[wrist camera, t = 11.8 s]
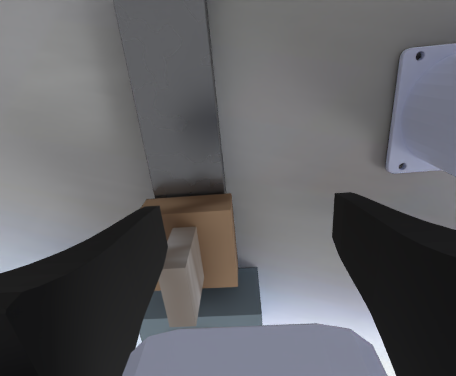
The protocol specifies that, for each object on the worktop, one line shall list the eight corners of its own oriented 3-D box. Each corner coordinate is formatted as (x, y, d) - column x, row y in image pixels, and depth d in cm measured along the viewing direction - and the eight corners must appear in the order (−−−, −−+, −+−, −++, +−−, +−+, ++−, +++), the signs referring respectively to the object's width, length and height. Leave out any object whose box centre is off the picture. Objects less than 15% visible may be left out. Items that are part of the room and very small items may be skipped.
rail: (203, -28, 16) (200, -36, 15) (232, 259, 24) (232, 270, 22) (118, -17, 16) (107, -25, 15) (175, 262, 24) (171, 274, 23)
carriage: (231, 193, 20) (228, 248, 14) (238, 263, 22) (238, 337, 16) (146, 199, 20) (107, 255, 14) (162, 267, 22) (134, 341, 16)
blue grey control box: (257, 267, 24) (261, 314, 20) (260, 318, 26) (265, 371, 22) (150, 273, 25) (130, 319, 20) (162, 322, 27) (146, 375, 22)
